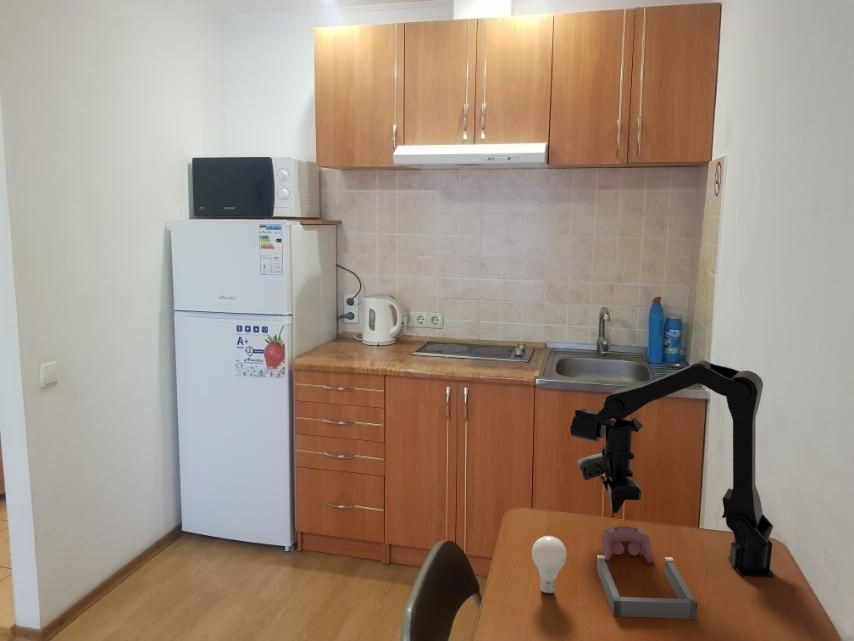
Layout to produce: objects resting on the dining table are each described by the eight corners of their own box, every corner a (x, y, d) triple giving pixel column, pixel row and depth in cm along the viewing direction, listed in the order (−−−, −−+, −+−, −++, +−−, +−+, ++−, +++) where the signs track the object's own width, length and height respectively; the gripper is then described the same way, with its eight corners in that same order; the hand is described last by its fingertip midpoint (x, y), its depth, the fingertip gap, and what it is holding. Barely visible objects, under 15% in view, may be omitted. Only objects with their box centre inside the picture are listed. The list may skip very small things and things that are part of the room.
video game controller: (649, 562, 139) (647, 527, 141) (654, 563, 135) (652, 527, 137) (600, 559, 140) (600, 525, 142) (604, 561, 136) (603, 525, 138)
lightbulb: (543, 578, 130) (545, 526, 128) (571, 592, 125) (574, 538, 123) (523, 591, 125) (525, 537, 124) (551, 606, 121) (554, 550, 119)
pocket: (670, 573, 132) (671, 557, 132) (696, 619, 118) (698, 601, 117) (596, 570, 133) (597, 555, 132) (613, 615, 118) (614, 598, 118)
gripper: (574, 430, 156) (571, 493, 159) (589, 461, 138) (585, 531, 141) (622, 432, 156) (618, 494, 158) (643, 462, 137) (639, 533, 140)
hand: (614, 512), depth 149 cm, fingers closed
